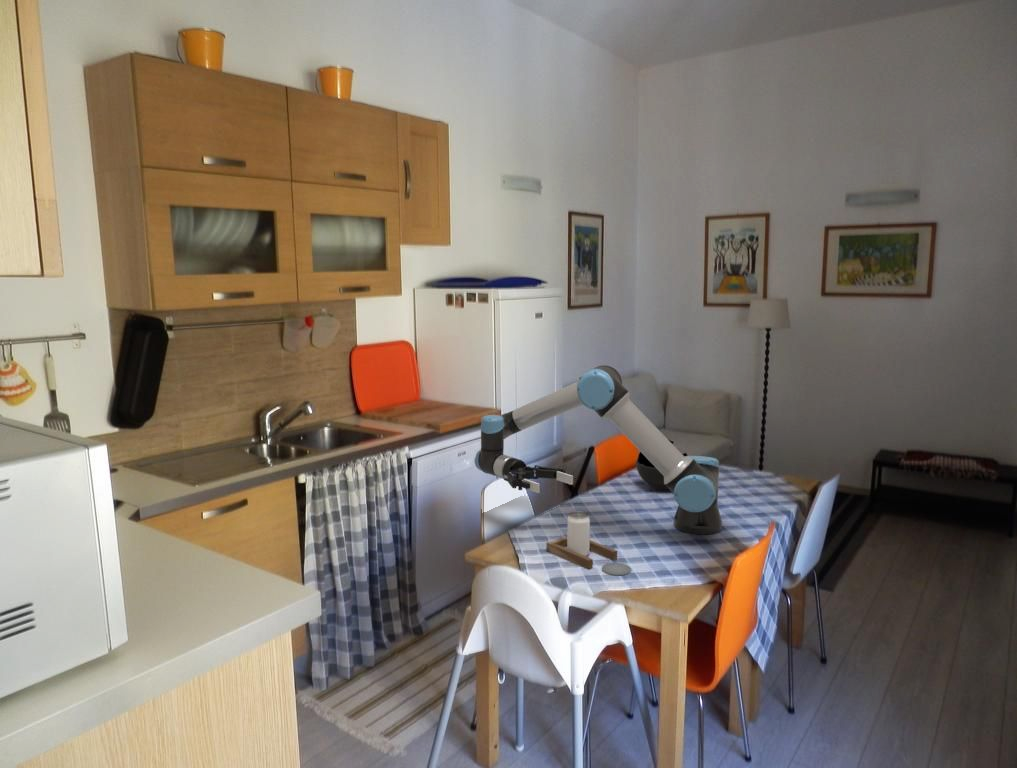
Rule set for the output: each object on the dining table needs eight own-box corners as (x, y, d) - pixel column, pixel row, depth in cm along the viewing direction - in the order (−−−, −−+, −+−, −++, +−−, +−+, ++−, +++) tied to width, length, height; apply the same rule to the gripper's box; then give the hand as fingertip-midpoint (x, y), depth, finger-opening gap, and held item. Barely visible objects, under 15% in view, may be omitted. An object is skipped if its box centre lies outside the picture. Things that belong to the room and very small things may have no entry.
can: (587, 549, 216) (588, 510, 214) (590, 557, 209) (591, 517, 207) (565, 549, 215) (566, 510, 214) (568, 558, 209) (568, 518, 207)
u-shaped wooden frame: (574, 541, 222) (574, 533, 221) (617, 559, 208) (617, 550, 208) (546, 550, 215) (546, 542, 214) (588, 569, 201) (588, 560, 201)
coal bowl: (669, 478, 290) (670, 432, 287) (699, 492, 272) (701, 443, 269) (625, 483, 283) (626, 436, 280) (653, 498, 264) (655, 447, 262)
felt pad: (615, 561, 206) (615, 560, 206) (637, 570, 200) (637, 569, 200) (595, 568, 201) (595, 567, 201) (617, 578, 195) (617, 576, 195)
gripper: (539, 473, 242) (585, 488, 225) (479, 487, 226) (523, 504, 210) (539, 451, 240) (585, 465, 224) (479, 464, 225) (523, 479, 209)
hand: (555, 484), depth 217 cm, fingers open, 13 cm apart
